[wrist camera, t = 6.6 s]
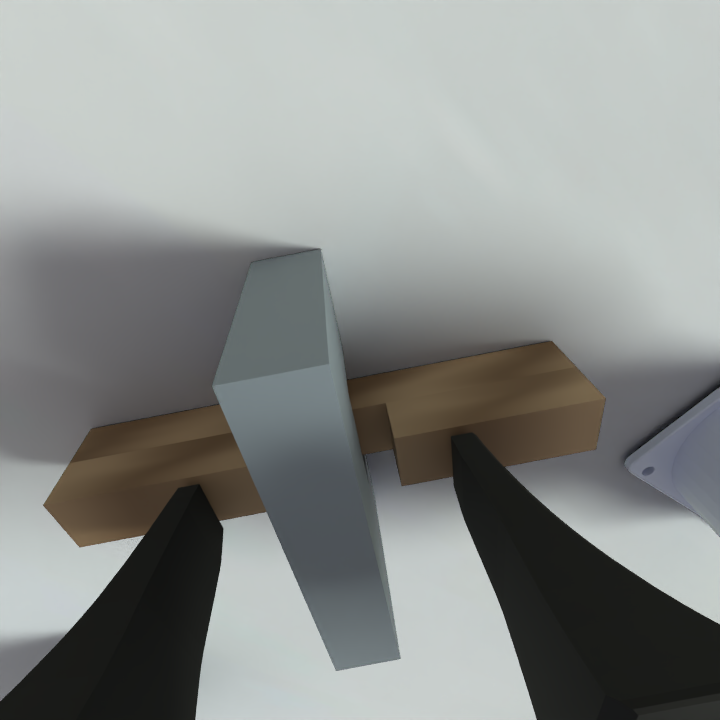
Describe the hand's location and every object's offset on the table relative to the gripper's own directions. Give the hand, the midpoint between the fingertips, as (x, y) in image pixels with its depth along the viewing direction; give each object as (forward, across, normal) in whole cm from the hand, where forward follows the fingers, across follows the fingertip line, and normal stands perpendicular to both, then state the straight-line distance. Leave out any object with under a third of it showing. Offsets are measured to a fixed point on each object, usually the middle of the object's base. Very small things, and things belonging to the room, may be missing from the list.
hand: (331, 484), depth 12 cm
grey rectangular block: (+3, 0, 0) cm, 4 cm away
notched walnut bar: (+3, 0, 0) cm, 3 cm away
